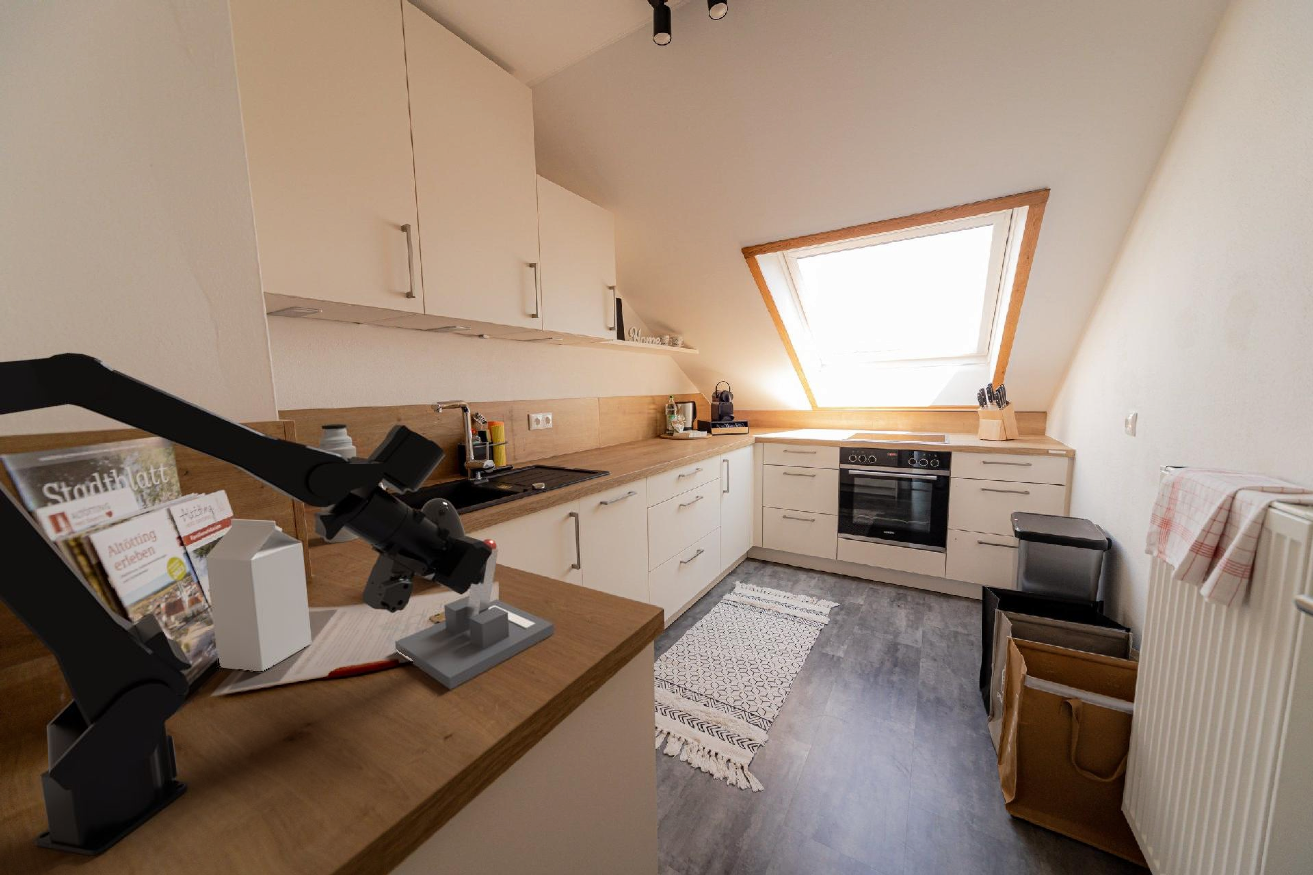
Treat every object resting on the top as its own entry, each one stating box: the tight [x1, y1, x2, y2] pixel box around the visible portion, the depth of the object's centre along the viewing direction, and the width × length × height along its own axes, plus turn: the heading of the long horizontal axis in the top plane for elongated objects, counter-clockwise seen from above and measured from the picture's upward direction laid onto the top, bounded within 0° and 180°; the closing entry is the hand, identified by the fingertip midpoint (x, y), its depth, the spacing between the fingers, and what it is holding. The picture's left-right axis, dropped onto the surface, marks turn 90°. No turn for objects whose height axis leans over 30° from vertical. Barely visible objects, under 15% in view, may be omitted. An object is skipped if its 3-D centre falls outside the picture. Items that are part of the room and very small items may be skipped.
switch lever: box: [466, 538, 499, 618], centre depth 67 cm, size 2×3×11 cm
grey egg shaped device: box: [420, 497, 467, 581], centre depth 91 cm, size 10×10×15 cm
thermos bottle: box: [318, 423, 360, 544], centre depth 115 cm, size 8×8×28 cm
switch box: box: [394, 595, 555, 691], centre depth 67 cm, size 16×14×5 cm
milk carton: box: [205, 518, 313, 672], centre depth 64 cm, size 7×7×19 cm
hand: (477, 580), depth 67 cm, fingers closed, pressing on switch lever
